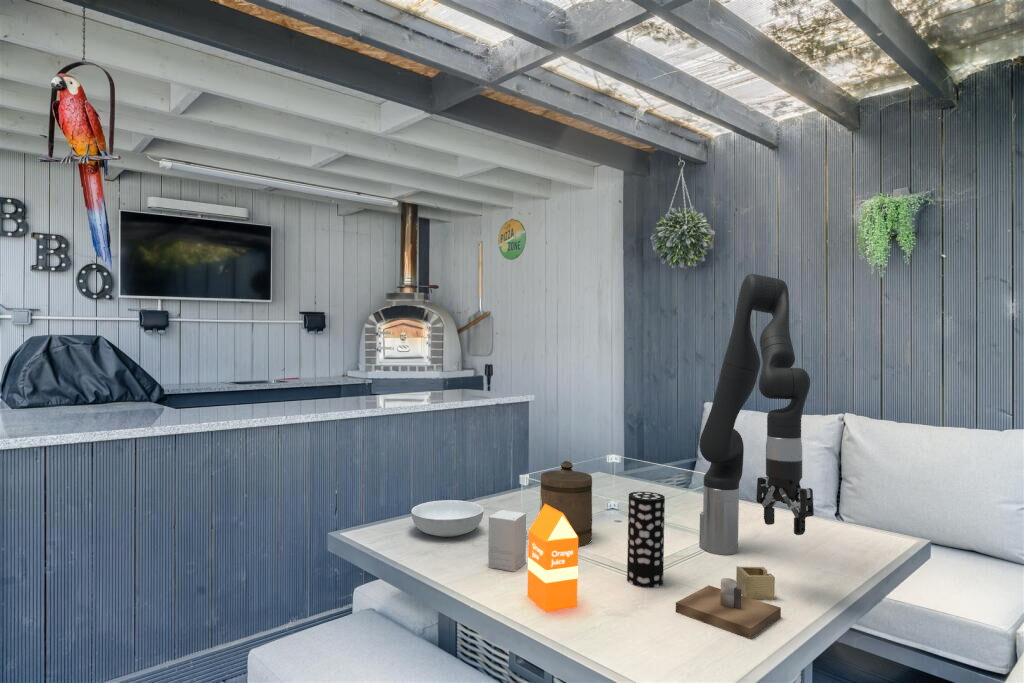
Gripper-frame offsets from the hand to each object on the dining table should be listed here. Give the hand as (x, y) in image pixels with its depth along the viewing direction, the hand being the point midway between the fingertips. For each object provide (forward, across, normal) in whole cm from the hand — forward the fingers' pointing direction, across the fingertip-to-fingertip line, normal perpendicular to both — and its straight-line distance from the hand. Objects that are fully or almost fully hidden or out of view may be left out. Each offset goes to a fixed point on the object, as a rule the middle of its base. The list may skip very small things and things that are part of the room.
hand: (783, 529), depth 141 cm
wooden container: (+14, +52, +29) cm, 61 cm away
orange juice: (+14, +14, +51) cm, 54 cm away
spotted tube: (+14, +17, +25) cm, 34 cm away
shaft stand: (+14, -4, +19) cm, 24 cm away
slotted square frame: (+15, +3, +6) cm, 16 cm away
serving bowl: (+14, +68, +59) cm, 91 cm away
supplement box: (+14, +37, +52) cm, 66 cm away
